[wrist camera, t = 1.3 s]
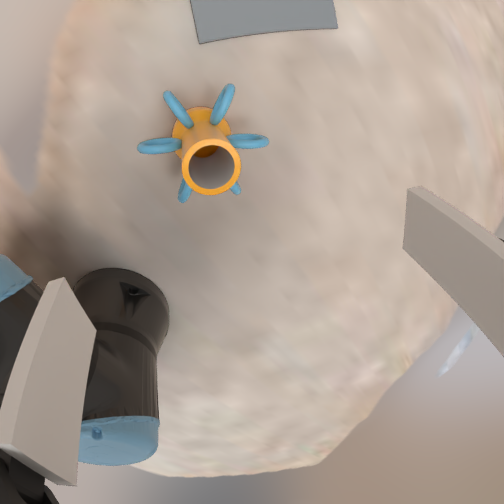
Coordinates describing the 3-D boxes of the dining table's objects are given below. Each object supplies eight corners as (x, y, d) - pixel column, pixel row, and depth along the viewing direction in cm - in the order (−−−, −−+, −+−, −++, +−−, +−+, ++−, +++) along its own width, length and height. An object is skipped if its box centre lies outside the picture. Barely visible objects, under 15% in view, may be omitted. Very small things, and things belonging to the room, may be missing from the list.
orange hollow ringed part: (266, 148, 36) (316, 192, 23) (193, 198, 37) (202, 267, 25) (209, 62, 29) (228, 49, 17) (130, 118, 31) (96, 145, 18)
